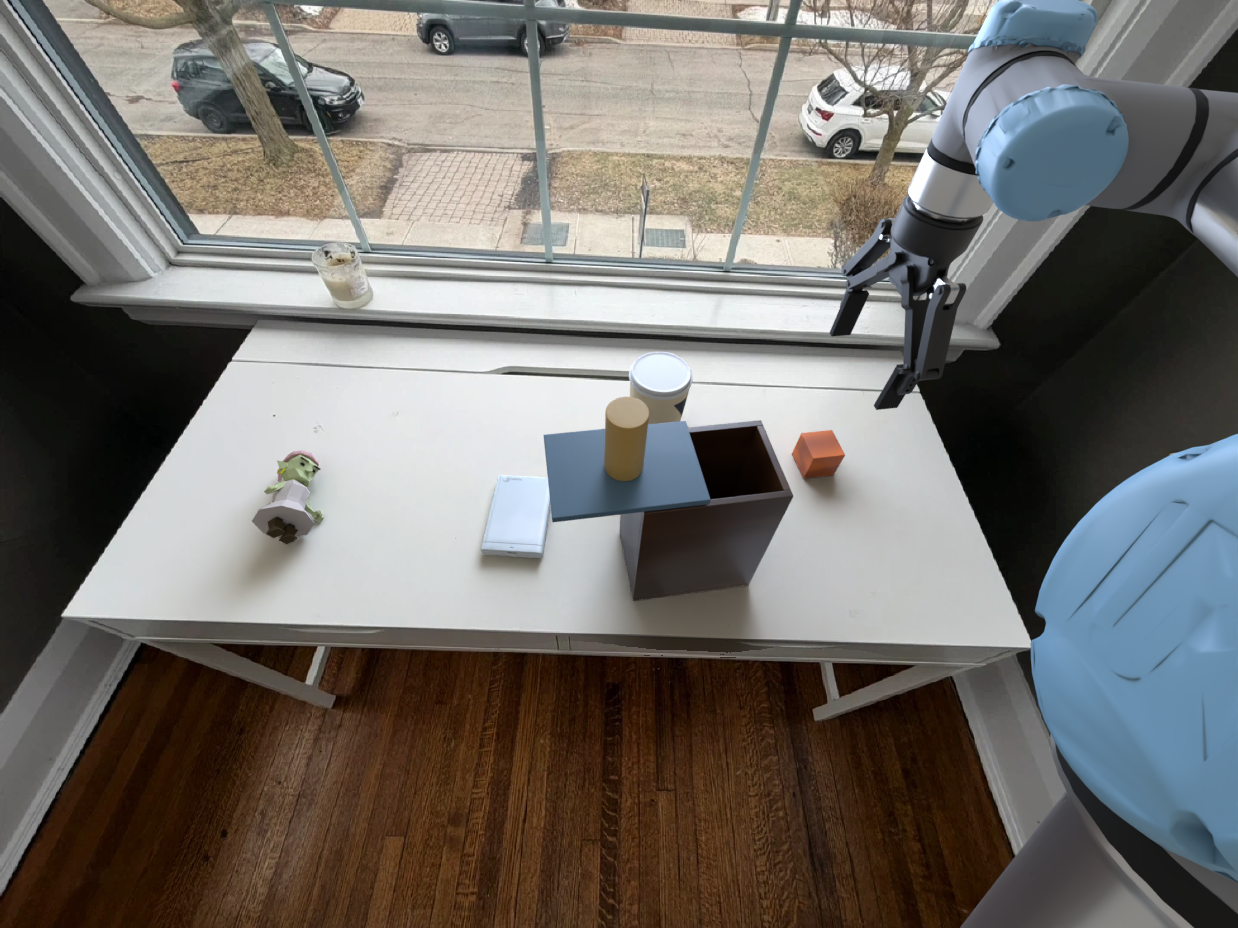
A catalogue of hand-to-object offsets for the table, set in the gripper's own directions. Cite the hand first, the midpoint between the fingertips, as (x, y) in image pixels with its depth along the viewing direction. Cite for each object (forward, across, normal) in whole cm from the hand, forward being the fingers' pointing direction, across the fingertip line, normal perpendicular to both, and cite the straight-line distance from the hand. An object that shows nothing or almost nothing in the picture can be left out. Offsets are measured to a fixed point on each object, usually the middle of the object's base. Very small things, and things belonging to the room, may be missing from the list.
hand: (861, 368), depth 70 cm
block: (+20, 0, 0) cm, 20 cm away
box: (+20, -13, +24) cm, 34 cm away
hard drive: (+20, -4, +46) cm, 50 cm away
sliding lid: (-2, -13, +33) cm, 36 cm away
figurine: (+15, +3, +73) cm, 74 cm away
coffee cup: (+20, +11, +23) cm, 32 cm away
